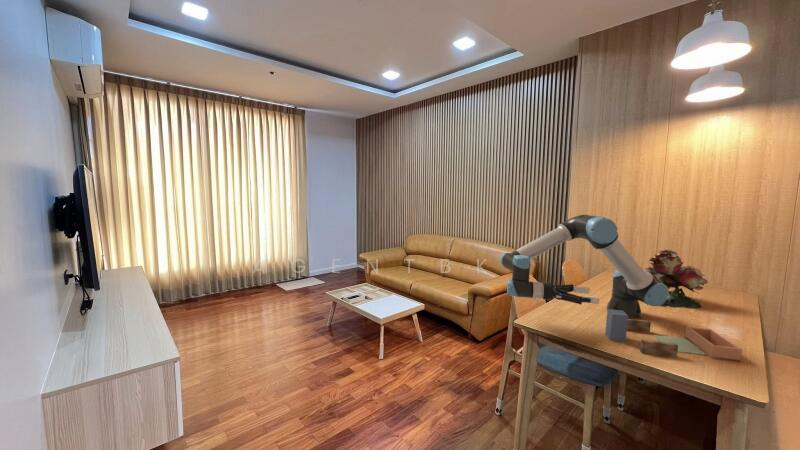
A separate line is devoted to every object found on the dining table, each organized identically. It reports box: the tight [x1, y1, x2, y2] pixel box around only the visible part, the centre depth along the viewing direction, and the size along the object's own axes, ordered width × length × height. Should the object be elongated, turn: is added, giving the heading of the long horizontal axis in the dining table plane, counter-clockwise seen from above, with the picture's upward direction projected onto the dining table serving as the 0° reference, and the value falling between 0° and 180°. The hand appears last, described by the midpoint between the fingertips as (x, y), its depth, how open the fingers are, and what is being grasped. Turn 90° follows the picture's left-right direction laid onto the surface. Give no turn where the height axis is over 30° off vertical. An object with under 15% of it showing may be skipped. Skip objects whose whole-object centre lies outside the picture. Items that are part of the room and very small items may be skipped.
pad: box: [653, 334, 707, 356], centre depth 138 cm, size 12×14×1 cm
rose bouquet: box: [644, 249, 709, 308], centre depth 191 cm, size 26×29×30 cm
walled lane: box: [627, 318, 679, 358], centre depth 141 cm, size 12×24×5 cm, turn 165°
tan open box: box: [685, 326, 742, 362], centre depth 135 cm, size 9×18×5 cm, turn 165°
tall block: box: [605, 308, 629, 343], centre depth 143 cm, size 6×6×12 cm
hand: (593, 295), depth 144 cm, fingers open, 13 cm apart
